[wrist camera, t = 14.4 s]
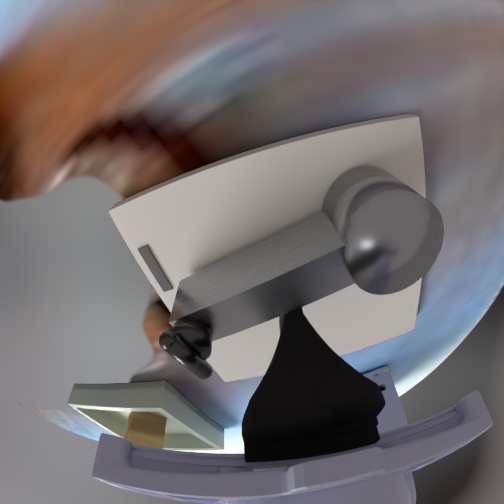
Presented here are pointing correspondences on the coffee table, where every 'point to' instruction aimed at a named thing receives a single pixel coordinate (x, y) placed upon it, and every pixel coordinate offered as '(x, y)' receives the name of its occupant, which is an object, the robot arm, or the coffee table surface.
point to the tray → (148, 400)
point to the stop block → (146, 429)
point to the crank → (309, 263)
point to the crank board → (273, 230)
